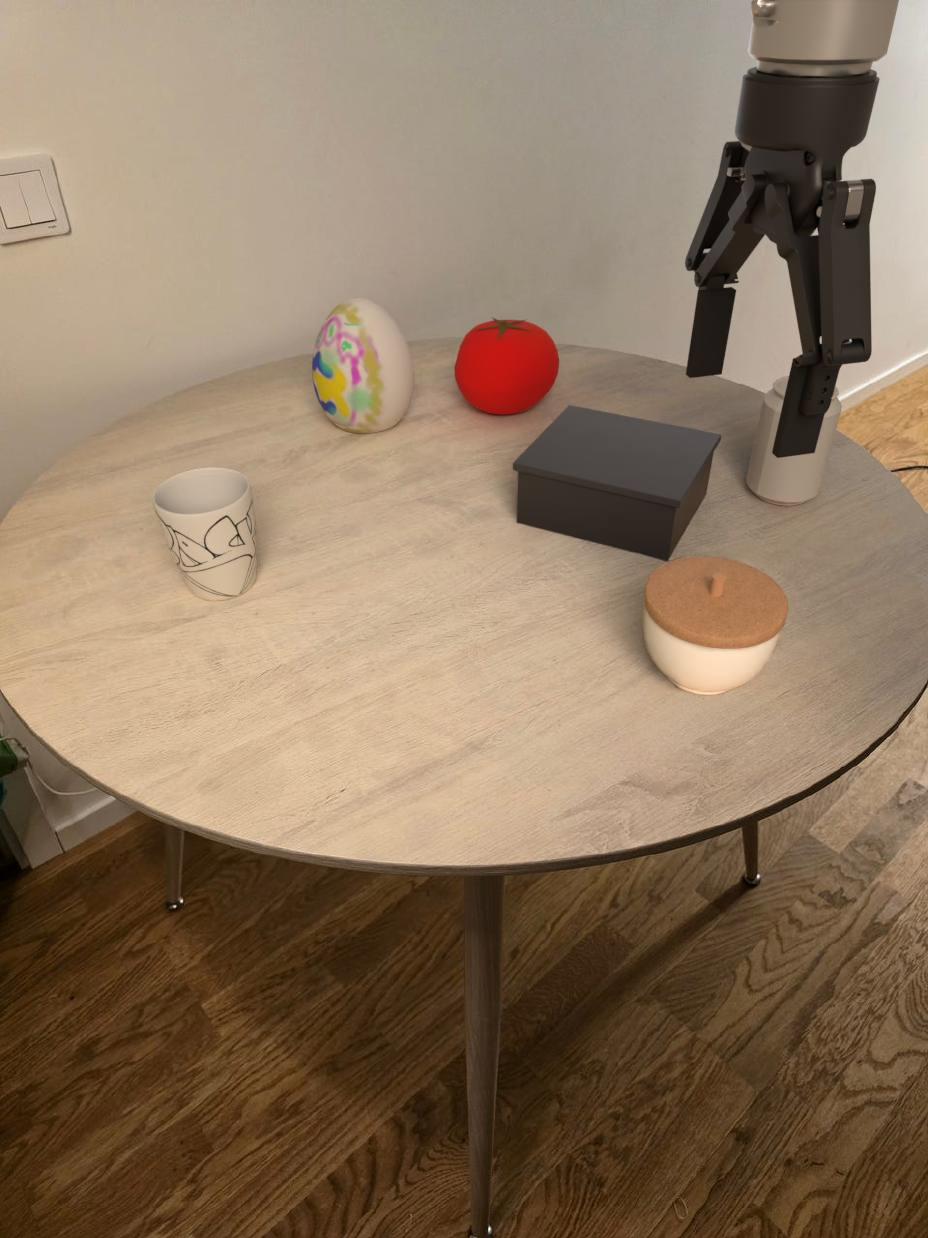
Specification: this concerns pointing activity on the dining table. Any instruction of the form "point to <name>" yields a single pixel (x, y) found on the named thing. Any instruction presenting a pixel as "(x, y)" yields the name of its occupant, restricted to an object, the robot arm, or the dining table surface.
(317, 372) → the decorative egg
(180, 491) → the mug
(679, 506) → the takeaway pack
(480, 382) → the tomato
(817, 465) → the can
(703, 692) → the lidded bowl
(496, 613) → the dining table surface
